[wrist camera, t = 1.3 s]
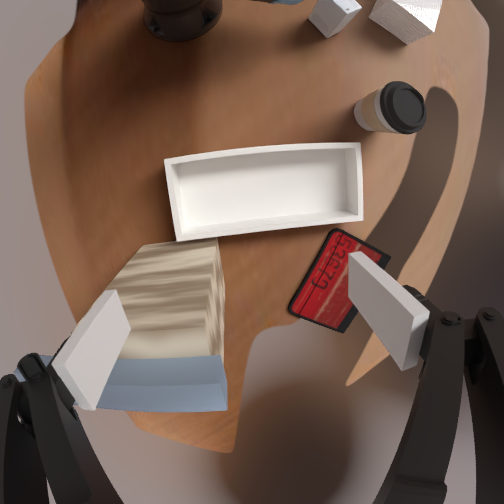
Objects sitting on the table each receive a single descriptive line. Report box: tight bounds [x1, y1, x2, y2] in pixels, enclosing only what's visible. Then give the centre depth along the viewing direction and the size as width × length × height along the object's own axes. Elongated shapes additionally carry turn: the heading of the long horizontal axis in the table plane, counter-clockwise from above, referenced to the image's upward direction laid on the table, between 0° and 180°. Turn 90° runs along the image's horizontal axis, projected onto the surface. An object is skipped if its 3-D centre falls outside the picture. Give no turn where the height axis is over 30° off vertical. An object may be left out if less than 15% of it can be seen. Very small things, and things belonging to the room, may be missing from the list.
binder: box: [288, 228, 391, 333], centre depth 58 cm, size 16×2×21 cm
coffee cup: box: [354, 81, 426, 134], centre depth 40 cm, size 9×9×15 cm
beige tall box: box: [71, 237, 225, 362], centre depth 41 cm, size 11×15×30 cm
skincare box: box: [308, 0, 362, 38], centre depth 34 cm, size 6×4×12 cm
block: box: [14, 355, 227, 412], centre depth 24 cm, size 4×26×4 cm, turn 96°
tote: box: [164, 143, 363, 242], centre depth 48 cm, size 14×33×6 cm, turn 96°
